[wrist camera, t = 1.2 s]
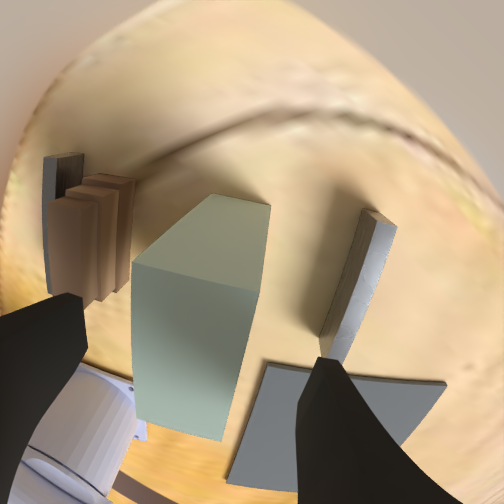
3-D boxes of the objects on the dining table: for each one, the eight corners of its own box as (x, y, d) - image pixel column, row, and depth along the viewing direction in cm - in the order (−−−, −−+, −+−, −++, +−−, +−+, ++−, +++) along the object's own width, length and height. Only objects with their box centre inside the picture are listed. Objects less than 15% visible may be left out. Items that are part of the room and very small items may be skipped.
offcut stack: (96, 269, 17) (52, 307, 13) (100, 173, 15) (45, 188, 11) (129, 279, 17) (89, 321, 13) (136, 179, 15) (86, 196, 11)
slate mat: (226, 480, 25) (226, 483, 25) (267, 362, 18) (267, 366, 18) (352, 490, 25) (352, 493, 24) (445, 382, 18) (447, 385, 18)
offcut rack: (69, 275, 18) (47, 293, 15) (71, 152, 15) (44, 156, 13) (334, 341, 18) (340, 368, 15) (380, 213, 15) (397, 226, 12)
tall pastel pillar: (195, 297, 17) (136, 418, 9) (211, 193, 15) (131, 262, 7) (247, 309, 17) (221, 441, 9) (271, 205, 15) (259, 292, 7)
